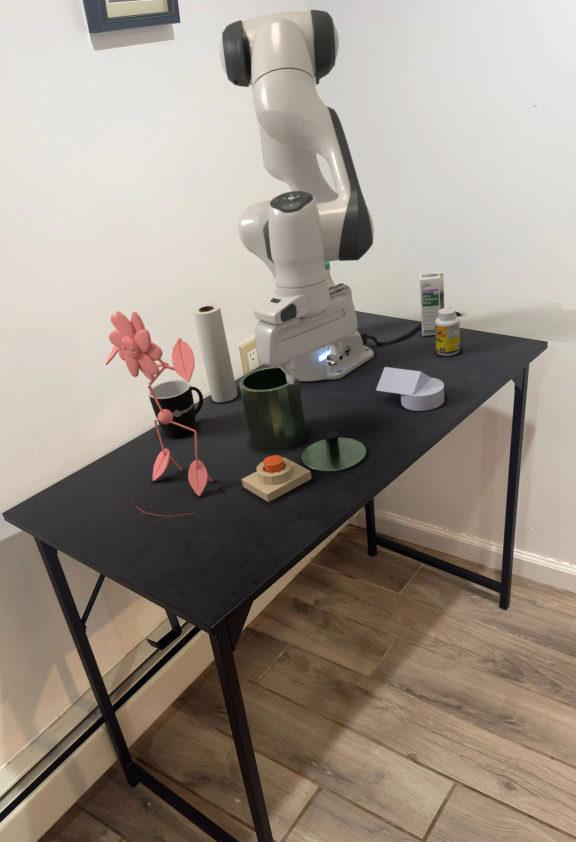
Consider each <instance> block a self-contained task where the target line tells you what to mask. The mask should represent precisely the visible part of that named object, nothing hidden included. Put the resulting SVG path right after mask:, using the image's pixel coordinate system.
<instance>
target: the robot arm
mask: <svg viewBox="0 0 576 842" xmlns="http://www.w3.org/2000/svg"><path fill="white" fill-rule="evenodd" d="M339 40H340V39H339V33H338V30H337V27H336V24H335V23H334V19H333V17H332V15H330V13H329V12H328V11H325V10H319V9H311V10H309V11H279V12H275V13H274V14H269V15H268V14H267V15H262V16H258V17H254V18H251V19H247V20H244V21H243V20H242V19H240V20H239V19H238V20H236V21H233V22H231V23H229V24H228V25H226V26H225V28H224V29H223V31H222V33H221V39H220V45H219V58H220V63H221V68H222V69H223V71H224V73H225V75H226V77H227V80H228V81H229V82H230V83H231V84H233V85H234V86H237V87H242V88H250V86H251V91H252V92H251V93H252V100H253V107H254V112H255V116H256V120H257V123H258V128H259V129H258V130H259V137H260V146H261V147H260V148H261V156H262V164H263V167H264V169H265V171H266V172H267V174H269V176H271V177H273V179H276V180H278V181H280V182H283V183H285V184H286V185H287V186H288V187H289V189H290V191H287V192H283V193H281V194H279V195H277V196H275V197H273V198H272V199H270V200H263V201H260V202H256V203H254V204H250V205H248V206H246V207H245V208H244V209H243V210H242V212H241V214H240V216H239V220H238V226H237V228H238V229H237V230H238V236H239V239H240V241H241V243H242V245H243V246H244V248H245V249H246V250H247V251H248V252H250V253H252V254H253V255H255V256H256V257H257V258H258V259H259V260H261V261H262V262H263V263H264V265H265V266H266V267H267V268H268V270H269V271H270V273H271V274H272V275H273V278H274V280H275V287H276V288H275V289H273V290H272V292H270V293H269V294H268V295H266V297H265V298H264V299H262V300H261V301H260V302H258V304H257V305H255V307H254V308H253V315H254V318H255V319H257V320H258V322H257V323H256V326H255V329H254V334H255V335H254V336H255V337H254V338H255V347H256V348H255V349H256V354H257V358H258V361H259V362H260V363H261V364H262V365H264V366H267V367H272V368H275V367H277V366H279V367H280V368H281V369H282V371H283V372H284V373H285V374H286V380H287V382H288V383H289V384H294V383H296V382H298V381H299V382H316V381H323V380H339V379H342V378H343V377H345V376H346V375H348V374H349V373H351V372H352V371H354V370H355V369H357V368H359V367H360V366H362V365H363V364H364V363H366V362H368V361H369V360H371V359H373V358H374V357H375V353H374V350H373V349H372V348H370V347H368V346H366V345H368V339H370V340H372V341H373V342H374V344H376V345H377V346H385V345H390V344H394V343H396V342H399V341H401V340H403V339H405V338H408V337H409V336H411V335H412V334H413V333H415V332H416V331H417V330H419V329H420V328H422V323H420V324H417V325H416V326H415V327H413V328H412V329H411V330H410V331H408V332H407V333H405V334H403V335H401V336H399V337H396V338H394V339H391V340H389V341H378V339H377V338H376V337H375V336H374V335H369V334H368V333H367V332H365V331H363V330H360V329H358V326H359V325H358V317H357V311H356V308H355V305H354V301H353V293H352V289H351V287H350V286H349V285H348V284H345V283H343V282H340V283H337V284H335V285H336V286H333V287H329V283H328V274H327V271H326V269H325V266H324V262H329V263H330V262H337V261H339V262H349V261H359V260H360V259H361V258H363V256H365V255H366V253H368V251H369V250H370V249H371V247H372V246H373V244H374V236H375V226H374V221H373V217H372V214H371V212H370V209H369V207H368V205H367V203H366V200H365V197H364V195H363V194H364V193H363V191H362V188H361V185H360V182H359V177H358V174H357V171H356V168H355V164H354V160H353V157H352V153H351V150H350V147H349V143H348V140H347V137H346V134H345V133H346V132H345V130H344V128H343V125H342V121H341V119H340V117H339V114H338V112H337V111H336V110H335V108H332V107H330V106H328V105H326V104H325V103H324V101H322V99H321V97H320V96H319V94H318V92H317V88H316V86H317V85H319V84H320V80H321V79H322V78H324V77H326V76H328V75H329V74H330V73H331V71H332V70H333V69H334V67H335V66H336V61H337V58H338V55H339V49H340V41H339ZM318 155H320V156H321V157H323V158H324V159H325V161H326V162H327V164H328V167H329V170H330V173H331V176H332V181H333V184H334V187H335V190H336V191H335V190H334V188H332V187H331V185H330V184H329V182H328V181H327V180H326V178H325V176H324V174H323V171H322V170H321V167H320V164H319V161H318ZM456 316H457V317H461V316H462V314H461V313H460V312H458V311H456ZM290 368H292V369H294V370H295V371H296V372H294V371H292V370H291V369H290Z"/></svg>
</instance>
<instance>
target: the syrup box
mask: <svg viewBox="0 0 576 842" xmlns="http://www.w3.org/2000/svg"><path fill="white" fill-rule="evenodd" d="M444 281H445V280H444V270H440V271H432V272H421V273H420V274H419V292H420V293H419V294H420V314H421V316H420V317H421V324H422V327H421V336H422V337H426V336H436V332H435V321H436V319H437V318H438V311H439V310H440V309H443V308H445V285H444Z"/></svg>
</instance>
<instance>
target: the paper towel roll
mask: <svg viewBox="0 0 576 842" xmlns="http://www.w3.org/2000/svg"><path fill="white" fill-rule="evenodd" d="M221 310H222V309H221V307H220V306H219V304H217V303H215V302H212V301H210V304H205V305H201V306H198V307H196V308H194V309H193V311H192V314H193V318H194V324H195V328H196V333H197V338H198V341H199V347H200V352H201V356H202V360H203V364H204V369H205V374H206V376H207V377H206V378H207V382H208V387H209V391H210V396H211V400H212V401H213V402H215V403H226V402H230V401H232V400H234V399H235V398H237V397H238V391H237V386H236V385H237V384H236V381H235V376H234V375H235V374H234V370H233V366H232V361H231V355H230V350H229V346H228V345H229V344H228V340H227V335H226V329H225V325H224V320H223V315H222V311H221Z"/></svg>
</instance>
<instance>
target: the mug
mask: <svg viewBox="0 0 576 842" xmlns="http://www.w3.org/2000/svg"><path fill="white" fill-rule="evenodd" d="M152 389H153V392H154V394H155V396H156V398H157V400H158V402H159V404H160V406H161V408H162V410H164V409H167V410H169V411H171V413H172V414H173V420H172V421H173V422H176V423H178V424H181V425H183V426H186V427H189V428H191V429H194V430H195V428H196V416H197V415H198V414H199V412H200V411H201V409H202V408H203V406H204V405H203V404H204V396H203V393H202V391H201V390H200V389H199V388H198V387H196V386H191V384H190V382H187V381H186V380H184V379H173V380H168V381H164V382H161V383H158V384H156V385H155V386H153V387H152ZM193 391H194V392H196V393H197V396H198V404H197V407H196V408H195V401H194V395H193ZM148 397H149V402H150V404H151V407H152V409H153V412H154V415H155V417H156V418H155V419H157V418H158V414H159V412H160V409H159V407H158V405H157V403H156V401H155V399H154V398H153V396H152V394H151V392H150V390H149V392H148ZM157 424H158V425H159V427H160V429H161V430H162V432H163V434H164V435H165V436H166V437H168V438H171V439H180V438H184V437H187V436H189V435H190V434H192V433H193V432H194V431H191V430H188V429H186V428H183V427H181V426H178V425H175V424H173V423H169V424H162V423H161V422H160V421H159V420H158V421H157Z"/></svg>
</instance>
